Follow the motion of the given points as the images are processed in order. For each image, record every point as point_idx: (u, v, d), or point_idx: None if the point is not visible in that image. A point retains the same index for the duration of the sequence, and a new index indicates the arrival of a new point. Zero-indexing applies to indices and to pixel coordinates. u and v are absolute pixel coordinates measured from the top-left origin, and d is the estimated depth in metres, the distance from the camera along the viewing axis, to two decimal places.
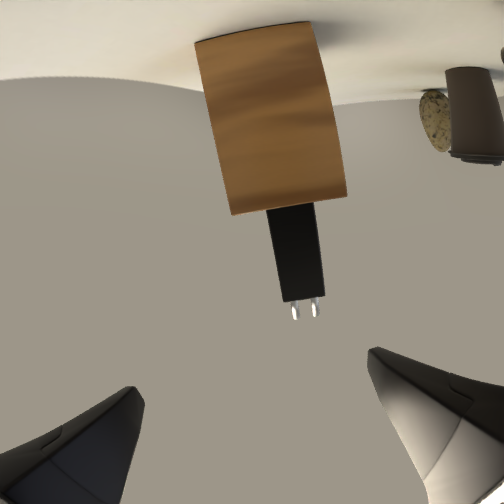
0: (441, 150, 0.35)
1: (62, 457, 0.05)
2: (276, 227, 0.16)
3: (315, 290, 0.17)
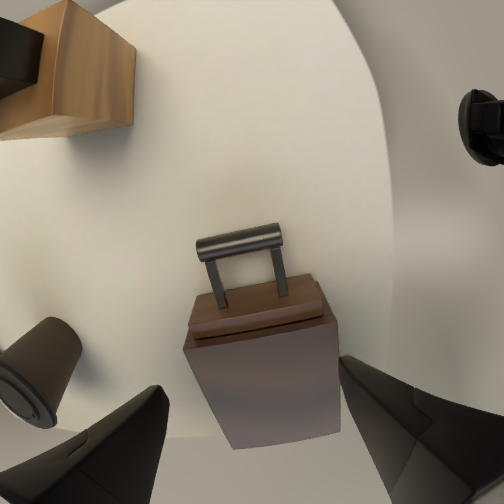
0: None
1: (91, 464, 0.05)
2: (28, 34, 0.06)
3: None
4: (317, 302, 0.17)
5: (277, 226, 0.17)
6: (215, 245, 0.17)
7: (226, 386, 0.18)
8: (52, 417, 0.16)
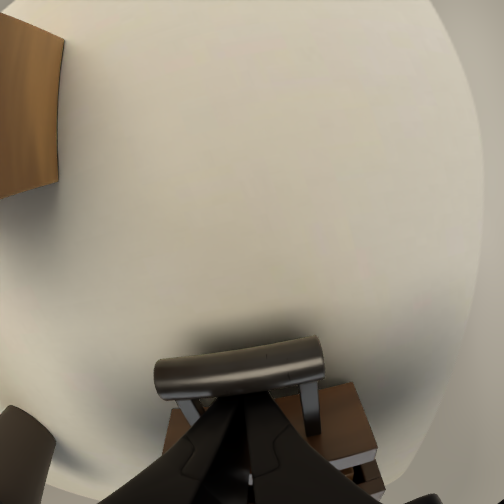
0: None
1: (207, 474, 0.05)
2: None
3: None
4: (369, 451, 0.08)
5: (317, 350, 0.08)
6: (190, 383, 0.08)
7: None
8: None
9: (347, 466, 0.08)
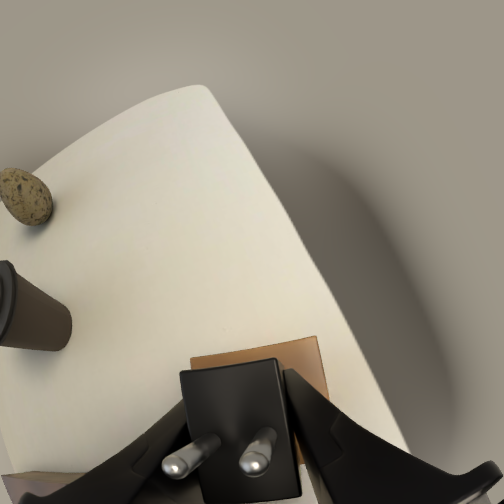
0: (2, 177, 0.22)
1: (158, 473, 0.05)
2: None
3: None
4: None
5: None
6: None
7: None
8: None
9: None
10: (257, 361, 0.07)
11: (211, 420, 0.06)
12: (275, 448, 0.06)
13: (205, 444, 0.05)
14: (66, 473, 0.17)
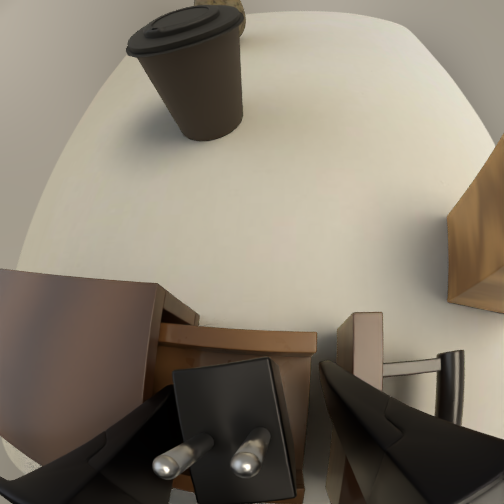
0: None
1: (111, 467, 0.05)
2: None
3: None
4: None
5: None
6: (462, 375, 0.09)
7: (76, 318, 0.10)
8: (140, 51, 0.13)
9: (345, 496, 0.07)
10: (250, 360, 0.07)
11: (204, 420, 0.06)
12: (269, 448, 0.06)
13: (198, 444, 0.05)
14: None
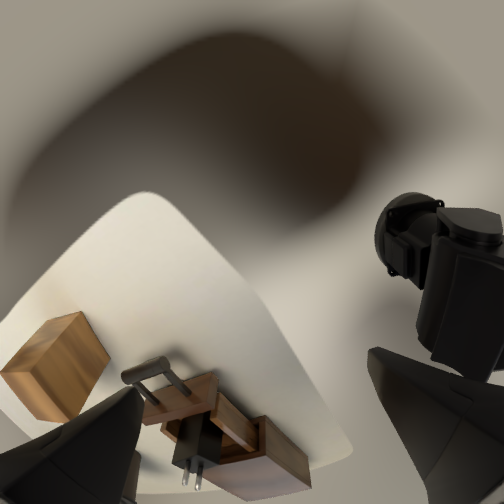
0: None
1: (62, 457, 0.05)
2: (206, 416, 0.24)
3: (215, 458, 0.21)
4: (204, 403, 0.21)
5: (158, 361, 0.21)
6: (130, 376, 0.22)
7: (222, 479, 0.26)
8: (133, 503, 0.25)
9: (202, 411, 0.22)
10: (175, 465, 0.21)
11: (195, 468, 0.21)
12: (189, 460, 0.20)
13: None
14: None
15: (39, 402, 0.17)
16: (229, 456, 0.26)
